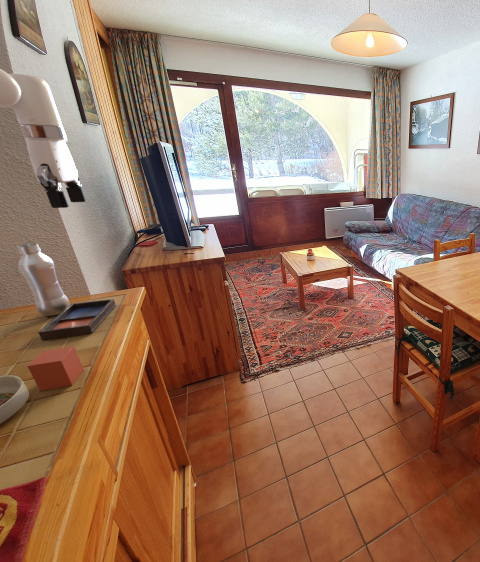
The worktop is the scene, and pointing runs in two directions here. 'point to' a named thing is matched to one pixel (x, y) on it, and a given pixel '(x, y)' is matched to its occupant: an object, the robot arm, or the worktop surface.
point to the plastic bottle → (42, 280)
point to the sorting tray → (78, 319)
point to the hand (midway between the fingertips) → (70, 204)
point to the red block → (56, 368)
